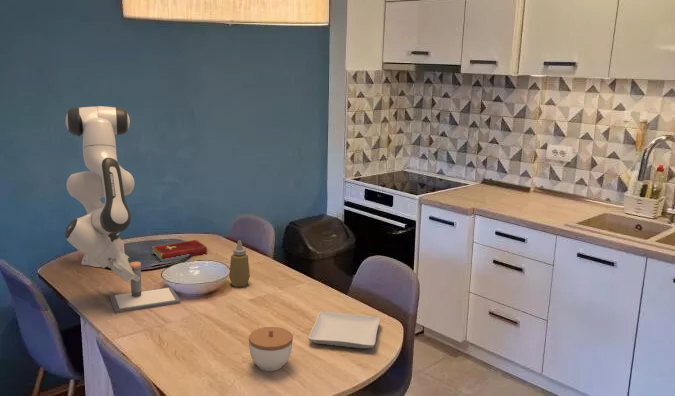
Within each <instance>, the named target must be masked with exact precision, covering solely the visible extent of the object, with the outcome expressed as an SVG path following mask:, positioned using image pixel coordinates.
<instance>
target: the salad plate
mask: <svg viewBox="0 0 675 396" xmlns="http://www.w3.org/2000/svg"><path fill="white" fill-rule="evenodd" d="M380 323H381V317H378V316H374V315H373V316H370V315H362V314H356V313H353V314H352V313H344V312H343V313H342V312H333V311H332V312H330V311H319V313H318V314H317V317H316V319H315V321H314V324H313V325H312V328H311V330H310V331H309V334H308V336H307V339H308V341H310V342H312V343H315V344H317V345H318V344H319V345H325V344H326V346H333V345H335V346H334V347H342V346H346V347H345V348H351V347H357V348H356V349H371V348H374V346H375V345H376V339H377V335H378V334H377V333H378V328H379V327H380Z"/></svg>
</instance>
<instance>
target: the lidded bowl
mask: <svg viewBox="0 0 675 396" xmlns="http://www.w3.org/2000/svg"><path fill="white" fill-rule="evenodd" d="M293 338H294V337H293V334H292V332H291V331H290V330H288V329H286V328H283V327H279V326H265V327H260V328H257V329H255V330H253V331H252V332H250V334H249V335H248V343H249V354H250V356H251V359H252V361H253V362H254V364H255V365H256V366H258V368H259V369H260V370H261V371H262V370H263V371H265V372H274V371H279V370H280V369H281V368H283V366H284V365H285V364H286V363H287V362H288V361H289V359H290V356H291V353H292V350H293V349H292V348H293V340H294V339H293Z"/></svg>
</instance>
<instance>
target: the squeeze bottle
mask: <svg viewBox="0 0 675 396" xmlns="http://www.w3.org/2000/svg"><path fill="white" fill-rule="evenodd" d="M228 275H229V277H228V278H229V280H230V282H231V285H232V286H233V287H234V288H235V287H237V288H243V287H247V285H248V283H249V280H250V277H251V274H250V264H249V255H248V254H247V253H246V249H245V247H243V242H242V240H237V244H236V247H235V248H234V249H233V254H232V255H231V256H230V265H229V274H228Z"/></svg>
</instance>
